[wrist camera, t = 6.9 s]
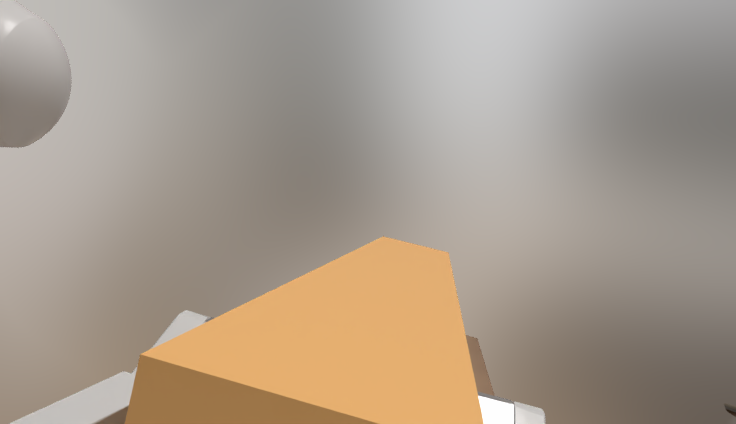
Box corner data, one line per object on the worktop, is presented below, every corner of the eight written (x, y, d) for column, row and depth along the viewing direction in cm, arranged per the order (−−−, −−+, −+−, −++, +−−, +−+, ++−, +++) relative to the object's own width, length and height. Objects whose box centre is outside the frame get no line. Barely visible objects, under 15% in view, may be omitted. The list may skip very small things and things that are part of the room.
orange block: (65, 686, 6) (140, 354, 5) (368, 300, 29) (383, 236, 29) (401, 814, 5) (490, 456, 5) (432, 317, 29) (448, 252, 29)
